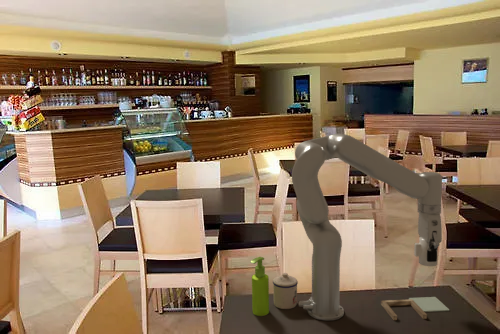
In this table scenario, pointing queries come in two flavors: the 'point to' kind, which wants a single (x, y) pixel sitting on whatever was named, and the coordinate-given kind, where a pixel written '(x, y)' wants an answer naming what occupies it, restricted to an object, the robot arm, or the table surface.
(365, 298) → the table surface
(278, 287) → the teacup with lid
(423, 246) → the labeled white canister
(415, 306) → the oak stall
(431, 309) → the sage tile
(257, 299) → the soap dispenser
